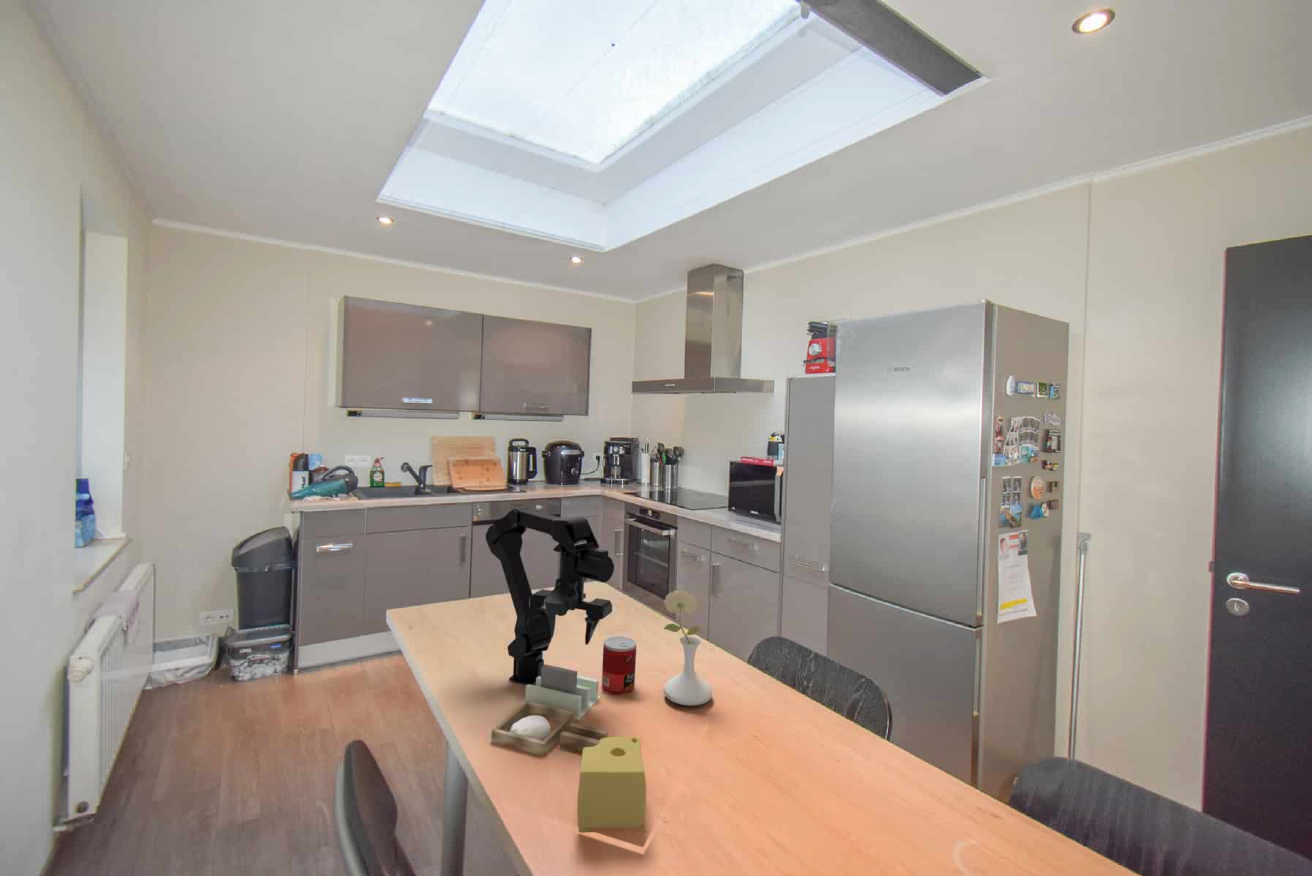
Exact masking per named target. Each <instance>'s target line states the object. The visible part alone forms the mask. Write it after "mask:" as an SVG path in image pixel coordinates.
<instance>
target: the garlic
mask: <svg viewBox="0 0 1312 876" xmlns="http://www.w3.org/2000/svg"><path fill="white" fill-rule="evenodd" d="M509 732H510V733H514V734H518V735H521V736H525V737H529V738H533V739H536V740H540V741H543V740H544V739H545V738H546V737H547V736H548V735H549V734H550V733H551V732H552V728H551V724H550V722H549V720H547V718H544V717H542V716H535V715H528V716H527V715H526V716H525V717H524V718H522V719H520V720H519V721H517V722H516V723H514V724H513V725H512V727H511V729H510V730H509Z"/></svg>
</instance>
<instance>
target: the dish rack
mask: <svg viewBox="0 0 1312 876" xmlns="http://www.w3.org/2000/svg"><path fill="white" fill-rule="evenodd" d="M599 682H600V681H599V679H596V678H592V677H587V676H583V675H578V674H577V689H576V695H574V694H570V693H565V692H561V691H557V690H552V689H548V688H544V687H541V677H540V676H539V677H537V678H536V682H535V684H533V685H531V684H526V686H525V693H524V695H525V699H524V703H525V702H527V701H530V702H534V703H538V704H542V705H546V706H550V707H554V708H559V709H563V710H567V711H571V712H575V713H576V716H575V721H580V720H581V719H582V718H583V717H585V715H586V714H587V713H588V712H589V710H591V708H592V707H593V706H594V705H595V704H596V703H597V702H598V701H599V700H600V699H601V698H602V696H601V695H599ZM524 703H522V704H521V706H522V705H523V704H524ZM521 706H520V707H521Z"/></svg>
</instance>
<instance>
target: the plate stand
mask: <svg viewBox="0 0 1312 876" xmlns="http://www.w3.org/2000/svg"><path fill="white" fill-rule="evenodd" d="M607 737H609V731H608V730H604V729H600V728H597V727H592V726H589V725H584V724H581V723H576V722H575V723H573V722H572V723H571V724H570V725H569V730H568V731H567V732H565V731H563V732H562V733H561V734H560V740H559V747H558V749H559V750H562V751H565V752H566V751H567V752H569V753H574V754H577V755H580V756H582V753H583V749H584V748H585V747H593V746H596V745H597V744H598V742H599V741H600V739H603V738H607Z"/></svg>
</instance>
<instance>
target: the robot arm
mask: <svg viewBox="0 0 1312 876" xmlns="http://www.w3.org/2000/svg"><path fill="white" fill-rule="evenodd" d="M528 529H530V530H533V531H537V532H540V533H543V534H547V535H549V536H551V539H552V540H553V541H554V542H556V543H558V544H557V545H556V546H555V547H553V548H552V549H553V551H554V552H557V553H559V570H558V571H559V572H558V578H556V579H555V583H554V584H555V585H554V588H553V589H552V590H550V589H542V588H541V589H540V590H538V591H536V592H534V593H533V592H532V589H531V586H530V582H529V579H528V576H527V572H526V569H525V566H524V562H523V560H522V557H521V551H522V546H523V545H524V544H523V543H524V541H523V535H524V534H525V533H526V532H527V530H528ZM485 541H486V544H487V546H488V548H489V551H490V553H491V554H492V555H494V557H496V559H497V560H499V562H500V563H501V566H502V567H501V568H502V571H503V573H504V574H503V575H504V578H505V581H506V585H507V587H508V590H509V594H510V597H511V599H512V604H513V607H514V611H515V615H516V619H515V620H516V621H515V624H514V630H513V631H514V637H515V639H513V640H512V641H511V642H510V643H509V644H508V645H507V653H508V656H509V657H512V658H513V666H512V667H513V669H512V675H511V676H510V677H509V679H508V681H512V682H516V683H519V684H525V685H528V684H531V685H535V684H536V678H537V677H539V676H540V677H541V667H542V666H544V665H545V660H544V659H543V657H544V653H543V652H547V651H548V650H549V648H550V643H551V642H552V639H553V637H554V635H555V634H554V633H555V629H556V618H557V616H558V617H564V616H565V615H566V614H567V613H568V612H569V611H575V610H581V611H585V615H586V617H585V618H584V621H585V624H586V625H585V633H584V634H585V635H584V642H585V643H584V645H586V646H588V645H589V643H590V641H591V639H592V637H593V635H594V633H595V630H596V628H597V626H598V624H599V622H600V620H604V618H606V617H607V616H609V615H611V614H612V613H613V603H612V601H611V600H609V599H604V598H598V597H596V598H594V599H593V600H591V601H585V599H586V598H587V593H585V582H586V581H587V579H588V580H591V581H595V582H599V583H607V582H608V581H610V579H611V578H612V576H613V575H614V570H615V564H614V561H613V559H612V558H611V556H609V551H608V550H605V549H600V545H599V543H598V540H597V538H596V537H595V534H594V531H593V530H592V528H591V526H590V523H589V520H588V519H587V518H585V517H579V516H578V517H577V516H575V517H573V516H572V517H560V516H559V517H558V516H556V515H552V514H547V513H544V512H540V511H537V510H534V509H531V508H528V507H517V508H513V509H511V510H510V511H509V512H507V514H506V515H504V516H503V517H501V518H500V519H498V520H497V521H496V522H494V523H493V524H492V525H490V526H489V527H488V529H487V531H486V533H485Z"/></svg>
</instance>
